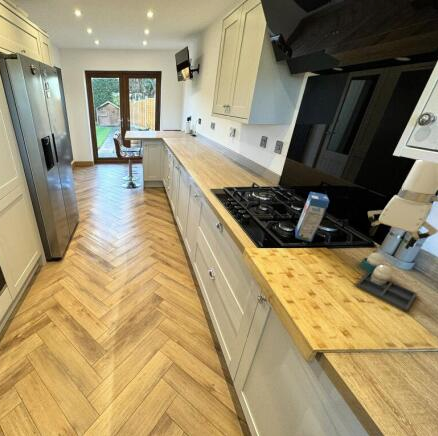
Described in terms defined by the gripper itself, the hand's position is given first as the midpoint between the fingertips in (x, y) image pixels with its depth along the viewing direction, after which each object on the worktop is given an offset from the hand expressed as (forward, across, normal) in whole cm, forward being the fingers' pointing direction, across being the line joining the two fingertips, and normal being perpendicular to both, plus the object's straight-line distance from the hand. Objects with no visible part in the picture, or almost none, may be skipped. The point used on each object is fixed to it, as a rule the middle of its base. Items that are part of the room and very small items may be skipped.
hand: (388, 241), depth 83 cm
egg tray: (+13, -6, +12) cm, 18 cm away
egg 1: (+12, +1, 0) cm, 13 cm away
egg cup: (+13, +1, 0) cm, 13 cm away
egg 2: (+12, -3, +8) cm, 15 cm away
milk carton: (+13, +27, -4) cm, 30 cm away
